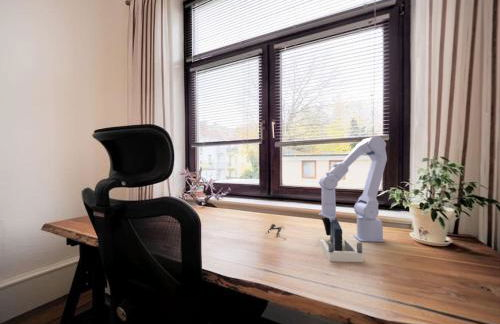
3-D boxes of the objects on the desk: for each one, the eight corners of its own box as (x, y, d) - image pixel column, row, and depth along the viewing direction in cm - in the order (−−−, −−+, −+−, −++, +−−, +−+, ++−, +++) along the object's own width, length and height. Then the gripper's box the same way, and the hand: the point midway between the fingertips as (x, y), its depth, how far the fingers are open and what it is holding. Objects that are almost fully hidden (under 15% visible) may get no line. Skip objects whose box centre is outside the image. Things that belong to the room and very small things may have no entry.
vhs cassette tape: (342, 258, 78) (342, 229, 78) (333, 257, 79) (333, 228, 79) (337, 241, 96) (337, 217, 96) (330, 241, 97) (330, 217, 97)
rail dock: (348, 246, 90) (348, 230, 90) (363, 262, 75) (362, 243, 75) (320, 245, 91) (319, 230, 92) (329, 261, 76) (328, 243, 76)
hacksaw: (271, 226, 124) (271, 223, 124) (290, 227, 121) (290, 224, 121) (261, 240, 101) (261, 236, 101) (285, 241, 98) (285, 238, 98)
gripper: (316, 200, 107) (316, 230, 107) (322, 206, 93) (323, 240, 92) (331, 201, 106) (332, 230, 106) (340, 206, 92) (341, 240, 91)
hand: (329, 235), depth 99 cm, fingers closed
